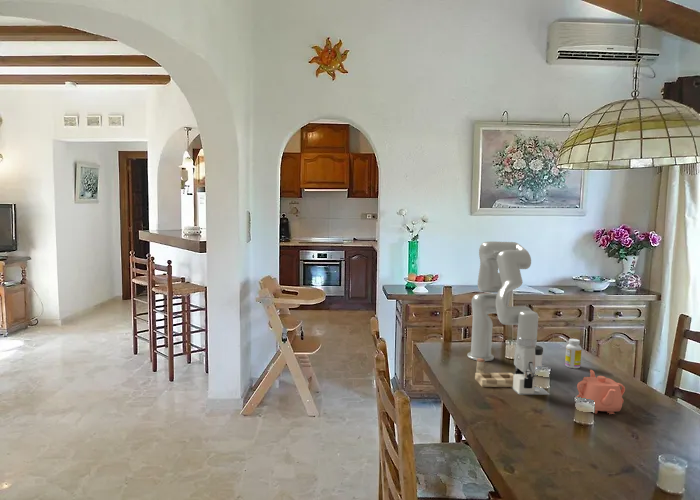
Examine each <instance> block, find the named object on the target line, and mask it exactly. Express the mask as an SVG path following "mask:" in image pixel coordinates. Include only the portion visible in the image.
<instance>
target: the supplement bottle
mask: <svg viewBox="0 0 700 500" xmlns="http://www.w3.org/2000/svg"><path fill="white" fill-rule="evenodd" d="M580 343H581V341H580V339H577V338H569V339H568V344H566V346H565V359H564V360H565V362H564V364H565V365H564V366H566V368H569V369H570V368H571V369H579V368H581V364H582V363H581V362H582V349H583V348H582V346H581V345H580Z"/></svg>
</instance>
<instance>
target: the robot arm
mask: <svg viewBox="0 0 700 500" xmlns="http://www.w3.org/2000/svg"><path fill="white" fill-rule="evenodd" d="M478 256H479V257H478V258H479V262H480V263H479V271H478V279H477V288H478V290H479V291H480V292H481V293H477V294H474V295H473V296H472V298H471V310H472V311H471V312H472V325H471V326H472V327H471V340H470V341H471V343H470V344H471V345H470V346H471V347H470V351H469V352H467V356H466V357H468V358H469V359H471V360H473V361H477V359H478V358H481V359H484V360H485V362H490V361H493V360H494V359H495V358H494V357H495V356H494V354H492V341H493V340H492V339H493V320H492V318H491V317H490V316H489V314H497V315H496V316H497V318H498V320H499V323H500V324H502V325H506V326H512V325H513V326H515V325H516V326H517V331H516V335H517V336H516V343H515V349H514V351H515V352H514V357H513V365H514V366H515V374H524V372H525V377H526V378H524V388H532V384H533V378H534V377H535V375H534V374H535V347H536V345H537V341H538V340H537V339H538V328H539V314H538V312H537V311H533V310H532V308H530V307H529V306H515V305H513V306H511V305H510V299H511V292H512V291H513V290H516V289H518V288H520V287H521V286H522V285H523V278H522V273H521V270H528V269H529V268H530V267H531V265H532V257H531V255H530V253H529V251H528V250H527V249H525V247H523V246H522V245H521V244H519V243H518V242H513V241H484V242H482V243H481V244H480V245H479V248H478ZM509 305H510V306H509ZM527 370H530V371H527ZM527 373H530V374H527Z"/></svg>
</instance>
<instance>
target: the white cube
mask: <svg viewBox="0 0 700 500" xmlns="http://www.w3.org/2000/svg"><path fill="white" fill-rule="evenodd" d="M513 374H514V376H513V389H515V390H516V391H517V392H518V393H519V394H534V387H536V386H535V385H536V384H535V383H536V379H535V378H534V377H533V384H532V388H524V378H526V377H525V374H516V373H513ZM513 389H512V390H513ZM515 390H514V391H515ZM516 391H515V392H516ZM517 392H516V393H517ZM518 393H517V394H518ZM519 394H518V395H519Z"/></svg>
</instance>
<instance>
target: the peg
mask: <svg viewBox="0 0 700 500" xmlns="http://www.w3.org/2000/svg"><path fill="white" fill-rule="evenodd" d="M485 362H486V361H485V360H484V359H481V358H478V359H477V360H476V369H475V370H476V372H475V373H485Z"/></svg>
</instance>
